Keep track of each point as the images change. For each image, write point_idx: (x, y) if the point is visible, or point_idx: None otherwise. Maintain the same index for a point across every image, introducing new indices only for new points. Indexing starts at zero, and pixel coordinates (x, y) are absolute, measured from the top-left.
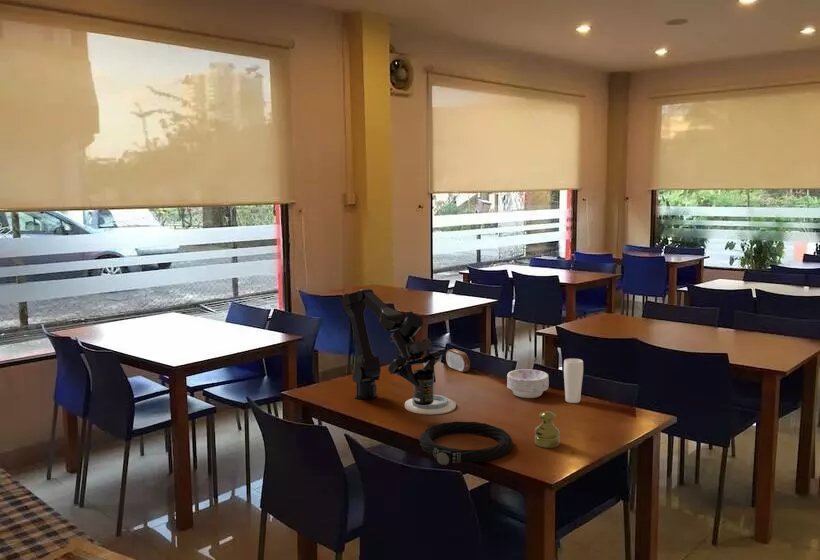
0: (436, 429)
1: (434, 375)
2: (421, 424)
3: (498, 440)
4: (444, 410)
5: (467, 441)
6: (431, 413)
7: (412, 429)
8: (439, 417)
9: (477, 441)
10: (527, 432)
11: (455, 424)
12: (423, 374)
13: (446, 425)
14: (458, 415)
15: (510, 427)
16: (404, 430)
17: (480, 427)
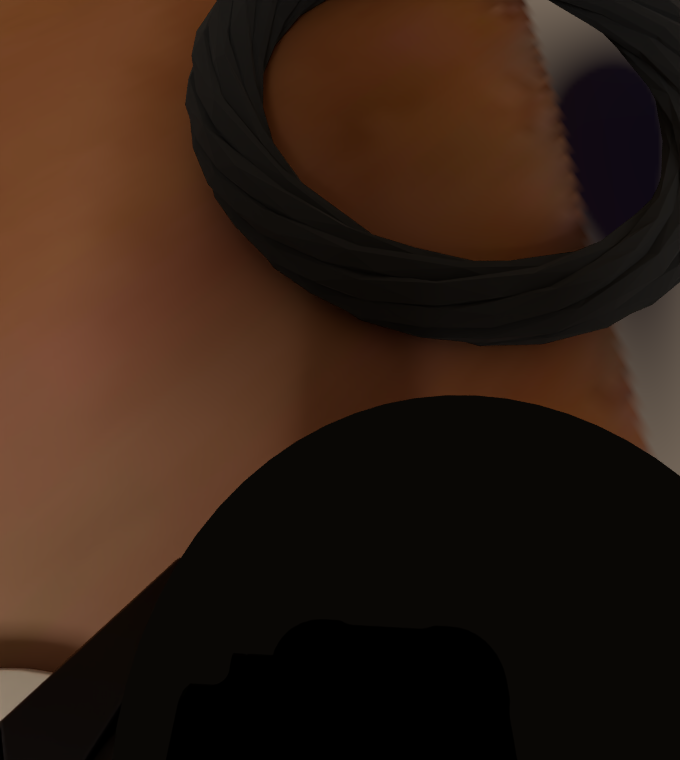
0: (534, 267)
1: (110, 634)
2: None
3: (282, 32)
4: (38, 674)
5: (405, 144)
6: None
7: None
8: None
9: (360, 112)
10: (37, 25)
11: (367, 233)
12: (673, 493)
13: (436, 258)
14: (21, 527)
15: (20, 119)
16: None
17: (259, 122)
